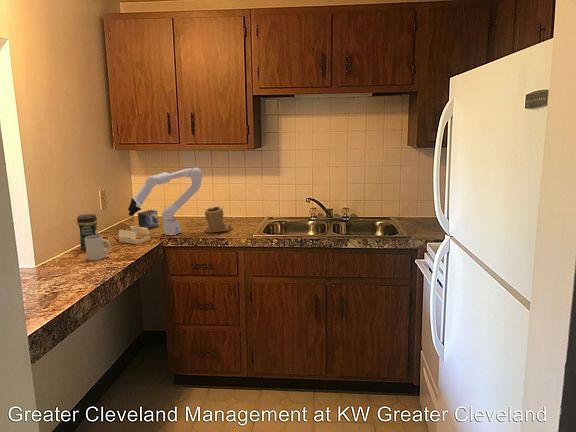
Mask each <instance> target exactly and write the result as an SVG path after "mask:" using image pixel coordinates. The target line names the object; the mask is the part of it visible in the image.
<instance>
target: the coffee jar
mask: <svg viewBox="0 0 576 432" xmlns="http://www.w3.org/2000/svg"><path fill="white" fill-rule="evenodd" d="M76 217H77V218H76V219H77V220H76V221H77V222H76V223H77V225H78V228H79V234H80V235H79V236H80V237H79V239H80V241H79V242H80V249H81V250H86V246H85V237H88V236H92V235H99V232H98V227H97V225H98V218H97V215H96V214H95V213H94V214H92V213H91V214H79V215H78V216H76Z"/></svg>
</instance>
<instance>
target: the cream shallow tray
mask: <svg viewBox="0 0 576 432" xmlns="http://www.w3.org/2000/svg"><path fill="white" fill-rule="evenodd" d="M137 236H141V237H144V238H141V239H128V238H124V237H118V240H119V241H118V242H119V243H124V244H130V245H140V244H143V243H146V242H148V241H151V235H145V234H138V233H137Z"/></svg>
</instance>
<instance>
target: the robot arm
mask: <svg viewBox="0 0 576 432" xmlns="http://www.w3.org/2000/svg"><path fill="white" fill-rule="evenodd" d="M182 177H186V178H188V179H189V178H190V179H191V180H190V181H191V185H190V186H189V187H188V188H187V189H186V190H185V191H184V192H183V193H181V195H180V196H179V197H178V198H177V199H176V200H175V201H174V202H173V203H171V205H169V206H167V207H165V208H164V209H163V211H162V212H161V217H162V224H163V233H165V234H172V235H175V234H178V233H181V231H182V230H181V223H180V220H178V219H176V217H175V216H174V215H175V214H176V213H177V212H178V211H179V210H180V208H182V207H183V206H184V205H185V204H186V203H187V201H189V200H190V199H191V198H192V197H193V196H194V195H195V194H196V193H197V192H198V191H199V190H200V189H201V185H202V178H203V174H202V170H201V169H200V168H199V167H190V168H185V169H182V170H178V171H175V172H172V173H168V172H165V171H163V172H161V173H158V174H153V175H149V177H147V179H146V181H145V182H144V184H142V186H140V189H139V190H138V192H137V193H136V194H135V195H134V196H132V197H131V199H130V203H129V206H128V209H127V210H128V211H129V212H128V216H130V217H133V216H134V215H135V214H136V213H139V211H141V210H142V208H141V206H143V204H144V203H145V201H146V199H147V198H148V197H149V195H150V194H151V193H152V191H153V189H154V188H155V187H156V185H157V186H159V185H162V184H163V185H164V184H167V183H170V182H171V180H173V179H178V178H182ZM181 234H182V233H181ZM178 235H179V234H178ZM175 236H176V235H175Z"/></svg>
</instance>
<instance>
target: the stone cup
mask: <svg viewBox="0 0 576 432" xmlns="http://www.w3.org/2000/svg"><path fill="white" fill-rule="evenodd" d="M204 216H205V219H206V222H207V225H208V227H206V228H205V232H206V233H210V234H211V233H219V232H230V231H231V228H232V224H225V223H224V211H223V208H222V207H221V206H213V207H209V208H207V209H205V211H204Z"/></svg>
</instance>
